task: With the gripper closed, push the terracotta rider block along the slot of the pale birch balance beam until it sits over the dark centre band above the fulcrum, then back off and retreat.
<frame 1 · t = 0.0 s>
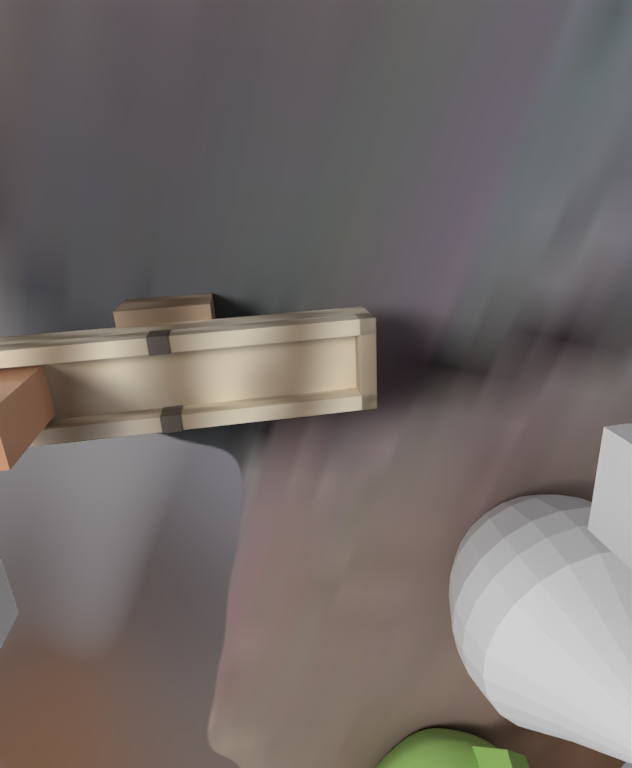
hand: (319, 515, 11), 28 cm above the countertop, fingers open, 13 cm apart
vase: (510, 543, 49), on the countertop
beam: (177, 350, 38), on the countertop
teapot: (415, 765, 58), on the countertop
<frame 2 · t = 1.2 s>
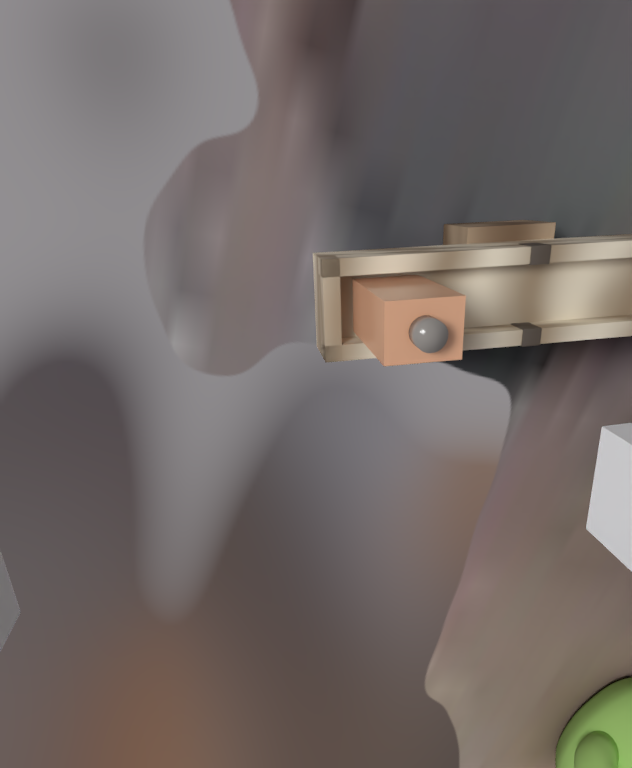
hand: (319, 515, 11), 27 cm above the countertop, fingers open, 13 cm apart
beam: (480, 278, 38), on the countertop
teapot: (605, 716, 59), on the countertop
rider: (405, 317, 28), point 10 cm above the countertop, slide at 0.0 cm
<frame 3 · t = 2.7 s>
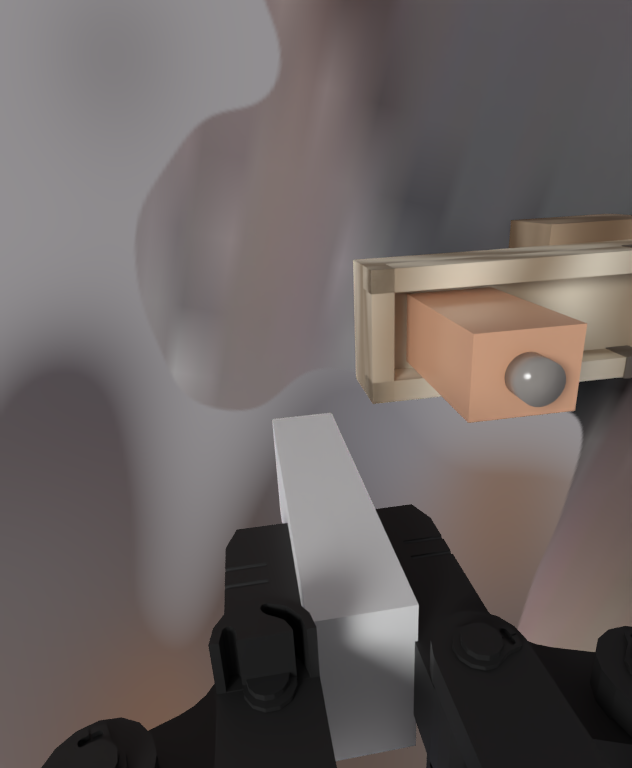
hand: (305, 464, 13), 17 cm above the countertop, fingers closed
beam: (552, 286, 31), on the countertop
rider: (486, 349, 20), point 10 cm above the countertop, slide at 0.0 cm
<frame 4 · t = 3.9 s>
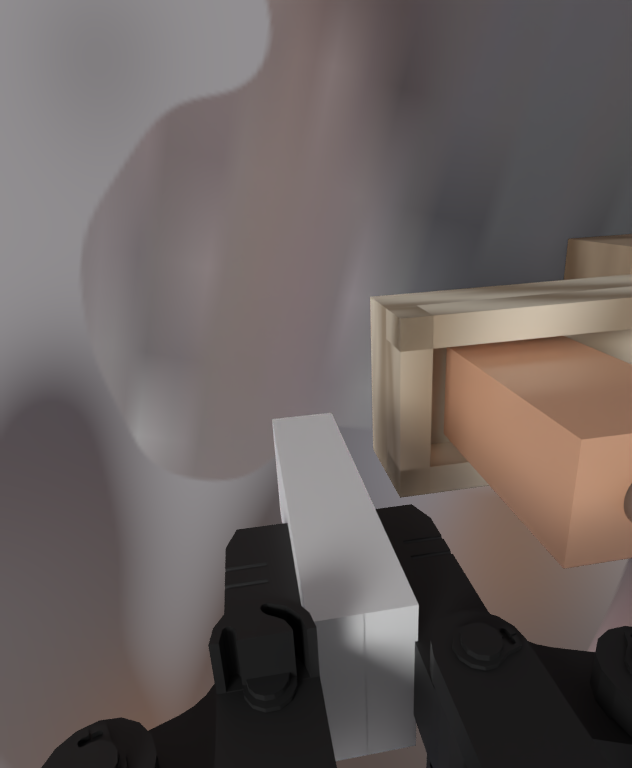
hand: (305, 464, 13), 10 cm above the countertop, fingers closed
beam: (617, 321, 24), on the countertop
rider: (572, 435, 14), point 10 cm above the countertop, slide at 0.0 cm
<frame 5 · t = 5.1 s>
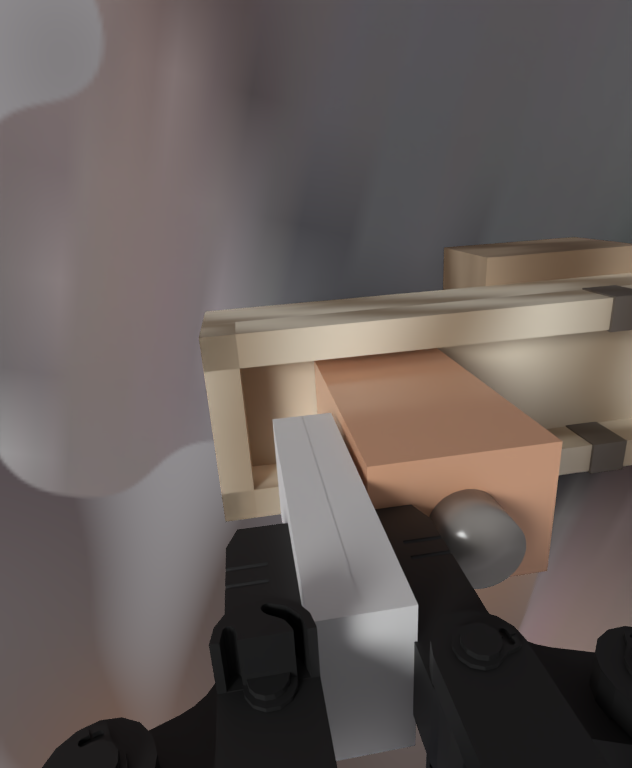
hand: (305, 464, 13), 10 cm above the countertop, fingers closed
beam: (504, 331, 24), on the countertop
rider: (415, 454, 13), point 10 cm above the countertop, slide at 1.3 cm, touching gripper
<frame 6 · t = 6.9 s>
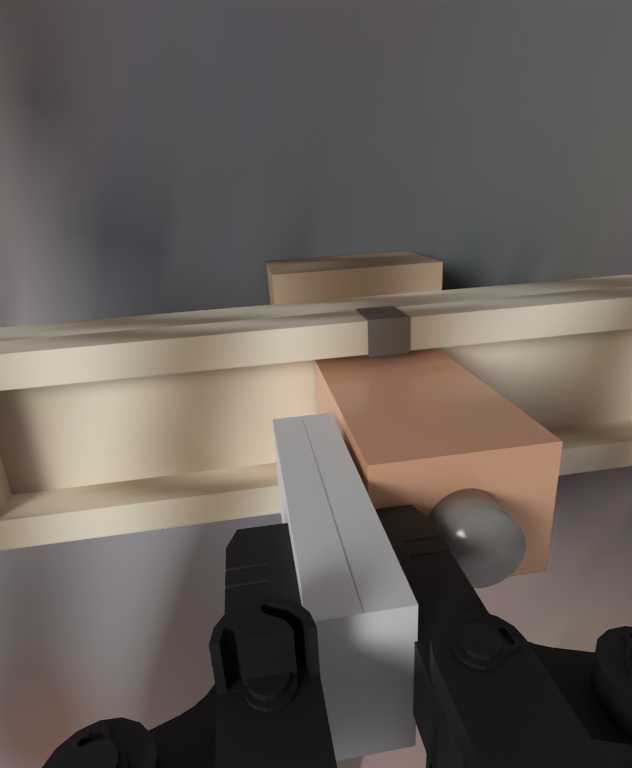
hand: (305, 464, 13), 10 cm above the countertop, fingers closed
beam: (340, 348, 23), on the countertop
rider: (415, 454, 13), point 10 cm above the countertop, slide at 9.0 cm, touching gripper
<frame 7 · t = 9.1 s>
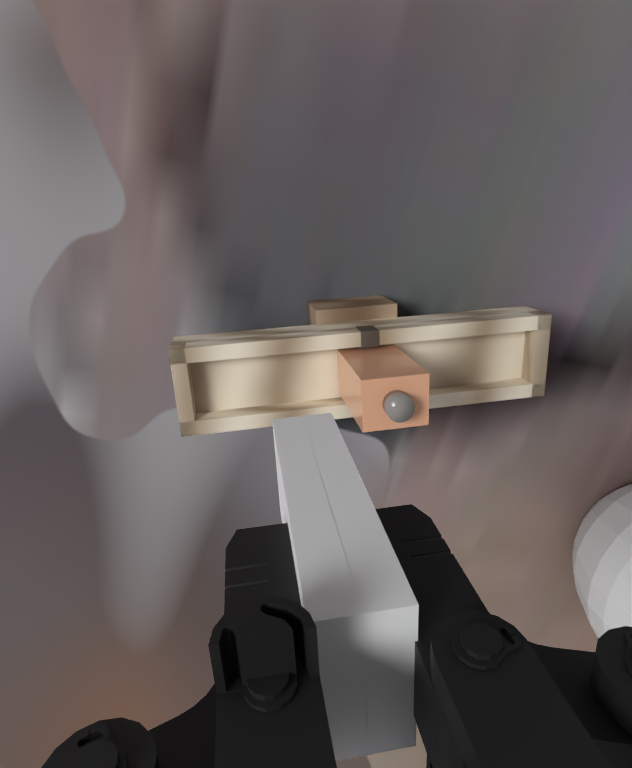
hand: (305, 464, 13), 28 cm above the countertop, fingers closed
vase: (619, 527, 53), on the countertop
beam: (347, 347, 42), on the countertop
rider: (381, 386, 32), point 10 cm above the countertop, slide at 9.0 cm
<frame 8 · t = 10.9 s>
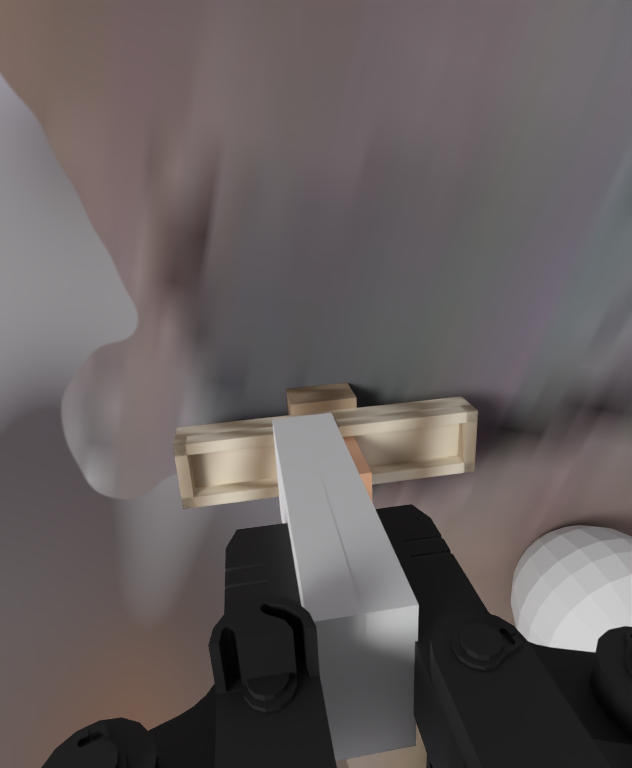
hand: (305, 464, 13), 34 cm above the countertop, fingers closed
vase: (554, 561, 62), on the countertop
beam: (319, 423, 51), on the countertop
rider: (338, 474, 42), point 10 cm above the countertop, slide at 9.0 cm
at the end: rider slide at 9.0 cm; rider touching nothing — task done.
